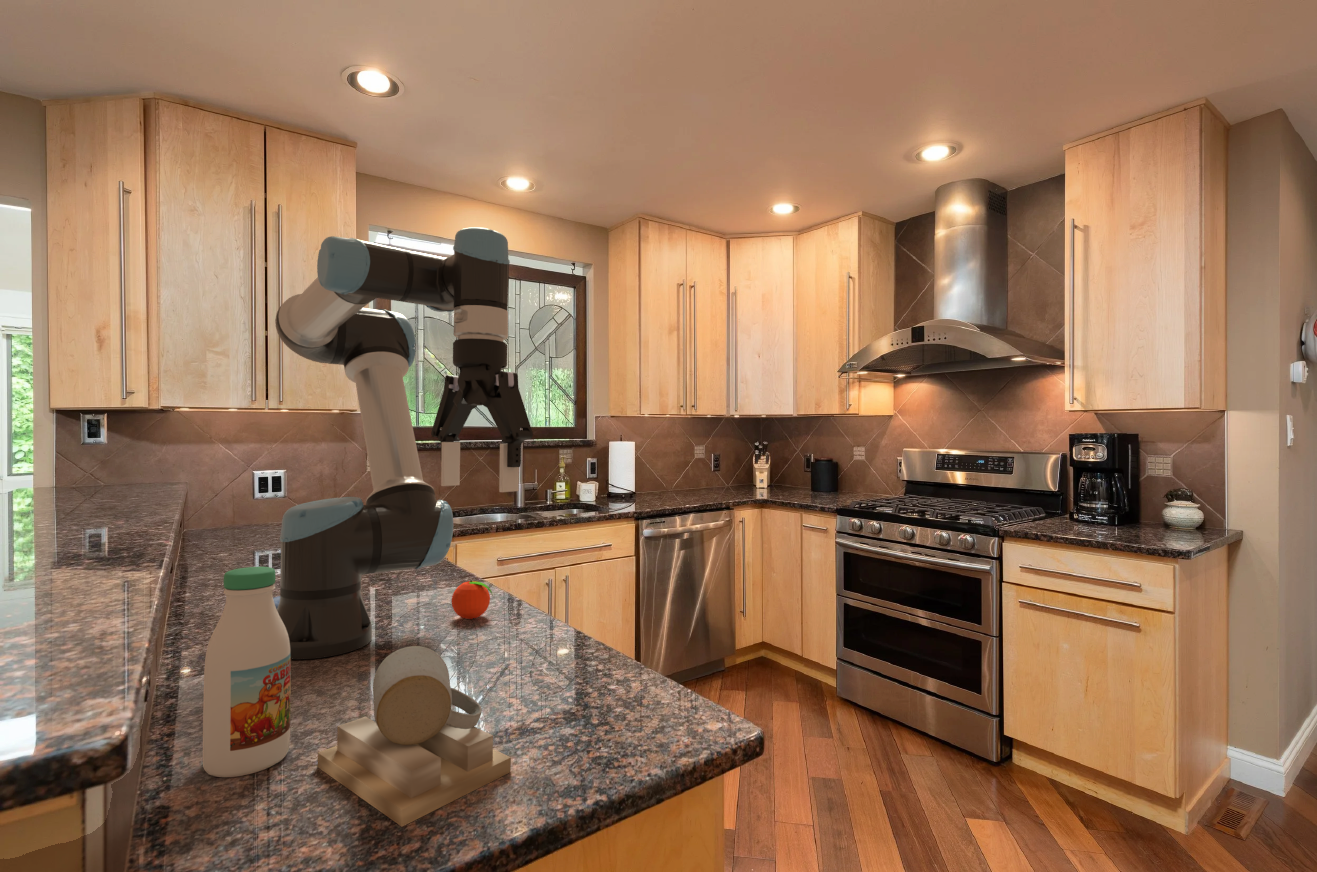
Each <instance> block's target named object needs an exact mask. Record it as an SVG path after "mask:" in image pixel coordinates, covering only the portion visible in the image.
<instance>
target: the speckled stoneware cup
mask: <svg viewBox="0 0 1317 872" xmlns="http://www.w3.org/2000/svg"><path fill="white" fill-rule="evenodd" d="M372 697H373V699H372V701H373V716H374V720H375V722H376V724H377V726H378V728H379V730H380V732H381V733H382V734H383V735H384V736H385V737H386V738H387V739H389V740H390V741H392V742H394V743H396V744H401V745H414V744H419V743H422V742H424V741H427V740H428V739H430V738H432V737H433V736H434V735H436V734H437V733H438V732H439V731H440V730H441V729H442V727H443V726H444V725H448V726H451V727H454V728H460V729H470V728H473V727H476V726H477V725H478V722H479V720H480V718H481V716H482V711H483V709H482V706H481V705H480V703H479V702H477V700H476V699H474V698H473V697H471V696H469V695H468V694H466V693H465V692H462V691H461V690H458V689H457V688H456V689H455V688H453V687H452V686H451V681H450V673H449V669H448V665H447V663H446V661H445V660H444V658H443V657H442V656H441V655H440V654H439V653H437V652H436V651H435V650H432V649H430V648H429V647H426V646H421V645H420V646H419V645H412V646H405V647H402V648H399V649H397V650H395V651H393V652H391V653H390V654H389V655H387V656H386V657H385V658H384V659H383V660H382V662H381V663H380V664H379V665H378V668H377V669H376V671H375V673H374V677H373V681H372ZM452 706H453V707H456V708H458V709H459V710H461V711H464V713H463V712H460V711H456V710H453V708H452Z"/></svg>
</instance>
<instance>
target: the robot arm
mask: <svg viewBox="0 0 1317 872" xmlns="http://www.w3.org/2000/svg"><path fill="white" fill-rule="evenodd" d="M453 244H454V245H453V246H452V250H453V254H452V255H449V256H448V257H447V256H446V257H444V256H443V257H442V256H437V255H435V254H434V255H433V254H428V253H423V252H418V251H412V250H408V249H403V248H397V247H393V246H388V245H383V244H379V243H374V242H370V241H365V240H361V239H358V238H354V237H342V236H333V235H332V236H327V237H325V239H323V241H322V242H321V245H320V249H319V251H318V255H317V261H316V262H317V264H316V268H317V270H316V272H317V277H316V279H314V280H313V281H312V282H311V283H310V285H308V287H306V289H304V290H303V292H302V293H298V294H294V295H292V296H290V297H288V298H287V299H286V300H285V301H284V302H283V303H282V304H281V305H280V307H279V308H278V310H277V312H276V315H275V321H274V322H275V329H276V332H277V335H278V337H279V338H280V340H281V341H282V343H283V344H284V345H285V346H286V347H287V348H288V349H290V350H291V351H292V352H293V353H294V354H297V355H298V356H300V357H301V358H303V359H307V360H309V361H312V362H315V363H320V364H328V365H339V366H340V365H342V366H343V368H344V373H345V377H346V378H347V379H348V380H350V382H352V383H354V384H355V387H356V393H357V394H356V395H357V400H358V401H357V402H358V406H359V411H360V417H361V418H360V419H361V423H362V430H363V435H364V436H363V437H364V442H365V447H366V454H367V460H368V465H369V472H370V477H371V485H372V490H373V491H372V492H371V493H370V494H369V495H368V496H367V498H366V500H365V504H364V501H363V500H362V498H361V497H357V496H344V497H330V498H324V499H318V500H312V501H308V502H304V503H299V504H297V505H294V506H291V507H290V508H288V509H287V510H286V511H285V512H284V514H283V515H282V519H281V528H280V535H279V542H280V577H279V578H280V581H279V582H280V584H279V585H280V590H279V591H280V592H279V596H280V602H279V605H278V608H277V612H278V614H279V616H280V618H281V620H282V621H283V623H284V625H285V627H286V630H287V633H288V637H289V642H290V657H291V660H313V659H321V658H322V659H323V658H328V657H329V658H330V657H334V656H339V655H342V654H348V653H350V652H353V651H356V650H359V649H361V648H363V647H365V646H367V645H368V644H370V642H371V641H372V639H373V638H372V637H373V635H372V634H373V627H372V625H373V624H372V621H371V619H370V616H369V613H368V609H367V607H366V604H365V601H364V599H363V596H362V586H361V585H362V576H363V575H373V574H379V573H380V574H381V573H388V572H395V571H396V572H397V571H404V570H412V569H413V570H420V569H421V568H425V567H431V566H436V565H438V564H439V563H441V562H442V561H443V560H444V559H445V558H446V556H447V555H448V553H449V550H450V548H451V544H452V541H453V534H454V515H453V510H452V507H451V505H450V504H449V502H448V501H446V500H443V499H438V500H437V498H436V494H435V493H436V492H435V489H434V487H433V486H432V485H431V484H429V483H427V482H425V481H424V479H423V472H422V468H421V467H422V466H421V463H420V458H419V457H420V456H419V453H418V447H417V443H416V437H415V433H414V427H413V422H412V416H411V413H410V407H409V402H408V401H409V400H408V397H407V392H406V387H405V382H404V377H405V376H406V374H407V373H408V371H409V370H410V368H411V366H412V365H413V363H414V361H415V357H416V353H417V352H416V351H417V349H416V347H415V345H416V344H417V343H416V342H417V340H416V336H415V335H416V334H415V332H414V329H413V326H412V323H410V321H409V319H408V318H407V317H406V316H405V315H404V314H402V313H399V312H397V311H390V310H387V309H385V308H383V309H382V308H377V309H374V308H368V307H366V306H367V305H368V304H370V303H371V302H373V301H375V300H376V299H381V300H387V301H388V300H389V301H394V302H395V301H396V302H402V303H408V304H416V305H421V306H426V308H428V309H430V310H431V311H434V312H438V313H446V312H447V313H449V312H453V335H454V337H455V338H457V339H455V340H454V342H452V364H453V366H455V368H458V369H459V374H458V375H450V374H447V375H445V377H444V386H443V393H442V395H441V398H440V402H439V405H438V408H437V412H436V415H435V418H434V422H433V426H432V429H431V430H430V431H431V432H430V433H431V437H433V438H437V440H438V442H440V463H441V467H440V473H441V474H440V486H441V487H452V486H453V487H454V486H460V484H461V482H460V481H461V480H460V479H461V473H460V472H461V469H460V468H461V465H460V464H461V442H460V441H461V439H460V437H459V436H460V433H461V432H462V430H463V428H464V426H465V424H466V422H467V420H468V418H469V417H470V414H471V412H473V409H476V408H477V407H479V406H483V407H485V408H487V410H488V412H489V415H490V416H491V418H492V420H493V422H494V424H495V426H496V427H497V430H498V432H499V433H500V435H501V437H502V439H501V441H500V443H499V485H498V490H499V491H498V492H499V493H509V492H510V493H512V492H519V490H520V488H519V482H520V481H519V480H520V477H519V476H520V475H519V474H520V471H519V470H520V468H521V465H522V464H521V463H522V444H523V443H524V442H525V441H526V440H531V439H532V438H533V436H534V434H533V433H534V432H533V430H532V429H533V428H532V426H531V423H530V420H529V418H528V417H529V416H528V414H527V413H528V412H527V410H526V408H525V404H524V401H523V399H522V395H521V392H520V388H519V376H518V373H517V372H514V371H513V372H512V371H503V369H506V368H507V366H508V345H507V343H506V342H504V341H505V340H507V339H508V338H509V312H508V311H509V309H508V306H509V282H510V281H509V276H510V274H509V273H510V264H511V262H510V259H509V242H508V238H507V236H505V235H504V234H503V233H501V232H499V231H497V230H494V229H491V228H486V227H465V228H462V229H460V230H458V231H456V234H455V236H454V243H453Z"/></svg>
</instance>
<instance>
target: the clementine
mask: <svg viewBox="0 0 1317 872" xmlns="http://www.w3.org/2000/svg"><path fill="white" fill-rule="evenodd" d="M490 593H491V595H492V597H494V596H493V593H492V589H491V588H490V586H488V585H487V584H485V583H483V582H481V581H475V580H469V581H465V582H462V583H461V584H460V585H458V586H457V587H456V589H455V590H454V592H453V593H452V595H451V606H452V609H453V611H454V612H455V614H456V615H457V616H458V617H460V618H462V619H466V620H474V619H477V618H479V617H481V616H482V615H483V614H485V613H486V611H487V610H488V608H489V605H490V601H491V596H490ZM473 618H474V619H473Z"/></svg>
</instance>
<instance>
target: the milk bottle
mask: <svg viewBox="0 0 1317 872" xmlns="http://www.w3.org/2000/svg"><path fill="white" fill-rule="evenodd" d="M223 588H224V591H223V593H222V594H224V595H225V596H226V598H225V604H224V608H223V610H222V614H221V616H220V618H219V620H218V622H217V624H216V626H215V628H214V630H213V632H212V634H211V636H210V638H209V640H208V644H207V648H206V651H205V652H206V653H205V657H204V670H203V671H204V673H203V700H202V701H203V703H202V704H203V705H202V707H203V708H202V710H203V711H202V768H203V769H204V771H205V773H207V774H208V775H209V776H211V777H215V778H216V777H217V778H235V777H243V776H246V775H251V774H255V773H258V772H261V771H264V770H266V769H268V768H270V767H273V766H274V765H276V764H279V762H281V761H282V760H283V759H284V758H285V757H286V756H287V753H288V752H289V749H290V743H291V742H290V741H291V696H292V695H291V691H292V690H291V686H292V685H291V684H292V683H291V679H292V678H291V677H292V676H291V674H292V673H291V671H292V670H291V668H292V667H291V665H292V664H291V661H292V659H291V657H290V642H289V637H288V633H287V630H286V627H285V625H284V623H283V621H282V620H281V618H280V616H279V614H278V612H277V609H276V607H275V604H274V600H273V598H274V597H273V592H274V590H275V589H276V570H275V568H273V567H270V566H247V567H239V568H234V569H231V570H228V571H226V572H225V573H224V575H223Z"/></svg>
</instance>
